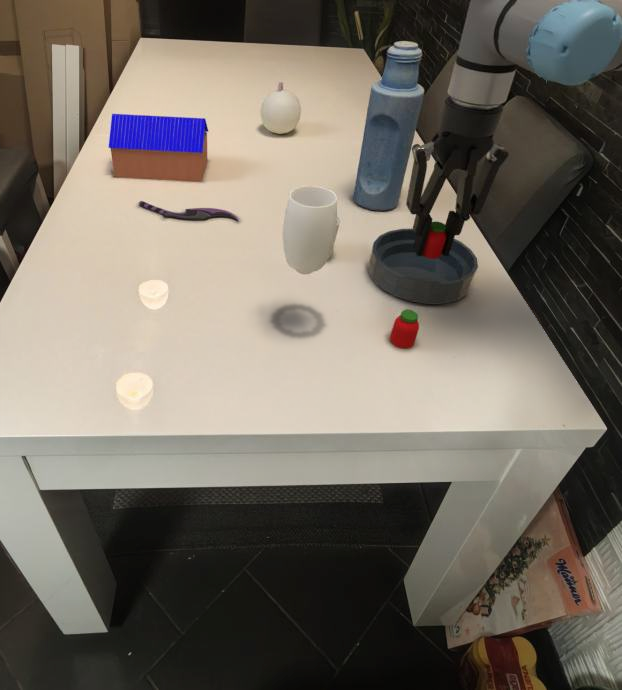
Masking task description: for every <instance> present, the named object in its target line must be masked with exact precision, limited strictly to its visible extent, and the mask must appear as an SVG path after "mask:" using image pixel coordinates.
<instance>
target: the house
mask: <svg viewBox="0 0 622 690" xmlns="http://www.w3.org/2000/svg"><path fill="white" fill-rule="evenodd" d="M208 133H209V128H208V124H207V120H206V118H203V117H184V116H168V115H167V116H165V115H163V116H162V115H148V114H147V115H146V114H145V115H143V114H126V113H125V114H124V113H111V120H110V129H109V138H108V139H109V140H108V146H107V147H108V149H110V153H111V162H112V170H113V176H114V178H125V179H126V178H127V179H141V180H142V179H143V180H161V181H162V180H163V181H179V182H200V183H202V182H203V180H204V175H205V172H206V168H207V164H208Z"/></svg>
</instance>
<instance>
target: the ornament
mask: <svg viewBox="0 0 622 690" xmlns="http://www.w3.org/2000/svg"><path fill="white" fill-rule="evenodd" d="M301 116H302V107H301V103H300V99H299V98H298V96H296V94H294V93H293V92H291V91H289V90H286V89H284V82H282V81H278V85H277V90H272V91H271V92H269V93H268V94H267V95H266V96H265V97H264V98H263V100H262V102H261V107H260V118H261V122H262V124H263V126H264V128H265V129H266V130H268V131H269V132H271V133H273V134H278V135H280V134H281V135H282V134H287V133H289V132H292V131H293V130H294V129H295V128H296V127H297V125H298V124H299V122H300V120H301Z"/></svg>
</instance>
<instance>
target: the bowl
mask: <svg viewBox="0 0 622 690" xmlns="http://www.w3.org/2000/svg"><path fill="white" fill-rule="evenodd" d="M415 237H416V235H415V234H414V232H413V228H397V229H394V230H389V231H387V232H384V233H382V234H380V235H379V236H378V237H377V238H376V239H375V240H374V241H373V244H372V248H371V252H370V253H371V254H370V257H369V263H368V267H367V268H368V269H367V270H368V272H369V274H370V277H371V279H372V280H373V281H374V282H375V283H376V284H377V285H378V287H380V288H381V289H383V290H384V291H386V292H388V293H389V294H391V295H393V296H394V297H397V298H400V299H403V300H406V301H409V302H414V303H420V304H425V305H430V304H431V305H433V304H437V305H438V304H447V303H451V302H455V301H459V300H460V299H461V298H463V297H464V296H466V295H468V292H469V291H470V289H471V287H472V285H473V283H474V279H475V278H476V274H477V271H478V268H479V264H478V257H477V256H476V255H475V253H474V252H473V250H472V249H471V248H469V247H468V246H467V245H466V244H464V243H463V242H462V241H461V240H458V239H457V238H454V240H453V243H452V246H451V249H450V252H449V255H448V256H443V254H441V256H440V257H439V258H435V259H431V258H426V257H424V256H417V254H416V252H415V250H414V248H413V245H414V241H415Z"/></svg>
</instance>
